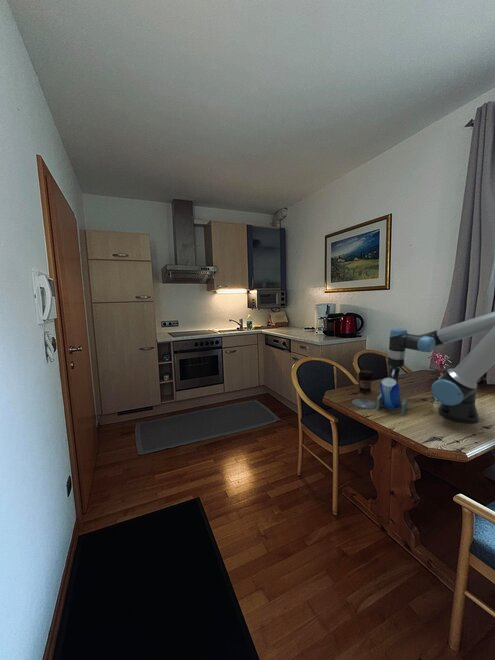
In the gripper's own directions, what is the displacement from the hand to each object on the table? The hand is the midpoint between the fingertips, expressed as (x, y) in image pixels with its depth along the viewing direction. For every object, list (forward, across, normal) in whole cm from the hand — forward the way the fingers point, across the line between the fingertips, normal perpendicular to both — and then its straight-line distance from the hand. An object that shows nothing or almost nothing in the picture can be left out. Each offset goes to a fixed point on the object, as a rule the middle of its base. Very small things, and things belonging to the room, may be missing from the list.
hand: (392, 400), depth 139 cm
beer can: (+1, +4, +1) cm, 4 cm away
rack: (+3, +5, +1) cm, 6 cm away
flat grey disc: (+3, +8, -12) cm, 15 cm away
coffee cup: (+4, -10, -16) cm, 20 cm away
